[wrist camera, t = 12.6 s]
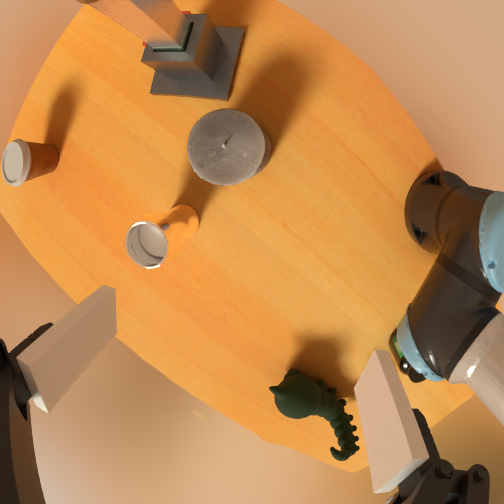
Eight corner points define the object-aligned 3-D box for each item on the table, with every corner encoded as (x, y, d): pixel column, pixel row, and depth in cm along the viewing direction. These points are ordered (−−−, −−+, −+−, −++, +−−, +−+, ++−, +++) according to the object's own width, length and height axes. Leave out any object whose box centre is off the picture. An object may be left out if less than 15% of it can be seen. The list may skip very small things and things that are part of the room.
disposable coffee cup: (57, 129, 47) (18, 129, 35) (68, 166, 49) (29, 172, 38) (34, 152, 49) (-3, 155, 37) (44, 187, 51) (7, 195, 40)
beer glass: (169, 197, 49) (127, 212, 35) (206, 208, 49) (174, 228, 35) (162, 233, 51) (120, 260, 37) (196, 245, 51) (164, 277, 37)
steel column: (207, 29, 32) (138, -64, 9) (197, 65, 34) (109, -14, 11) (168, 29, 32) (81, -46, 10) (158, 63, 34) (54, 4, 12)
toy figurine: (357, 392, 60) (285, 345, 55) (374, 454, 43) (290, 421, 37) (328, 411, 63) (254, 370, 58) (338, 472, 45) (250, 443, 40)
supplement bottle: (384, 333, 53) (402, 370, 41) (413, 319, 51) (435, 352, 40) (391, 355, 54) (407, 392, 43) (418, 341, 52) (439, 376, 41)
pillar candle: (236, 110, 43) (214, 90, 29) (284, 144, 44) (282, 137, 30) (202, 156, 46) (167, 156, 32) (248, 190, 47) (230, 204, 33)
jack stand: (244, 31, 38) (233, -1, 27) (227, 101, 43) (210, 83, 31) (171, 29, 39) (144, 2, 27) (153, 94, 43) (119, 80, 32)
